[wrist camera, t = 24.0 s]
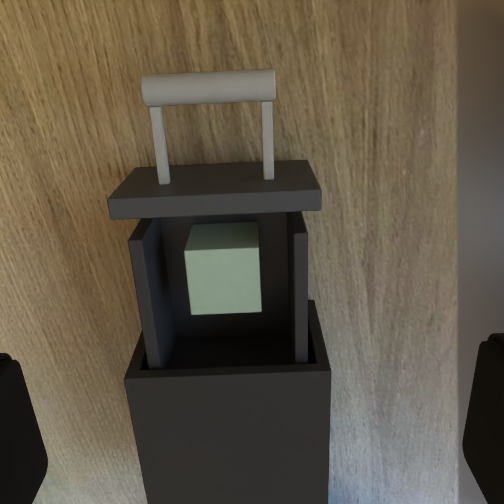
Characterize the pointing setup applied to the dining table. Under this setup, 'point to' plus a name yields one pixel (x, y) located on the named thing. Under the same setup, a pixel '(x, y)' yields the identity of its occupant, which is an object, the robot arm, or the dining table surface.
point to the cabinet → (234, 429)
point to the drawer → (211, 212)
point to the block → (223, 268)
